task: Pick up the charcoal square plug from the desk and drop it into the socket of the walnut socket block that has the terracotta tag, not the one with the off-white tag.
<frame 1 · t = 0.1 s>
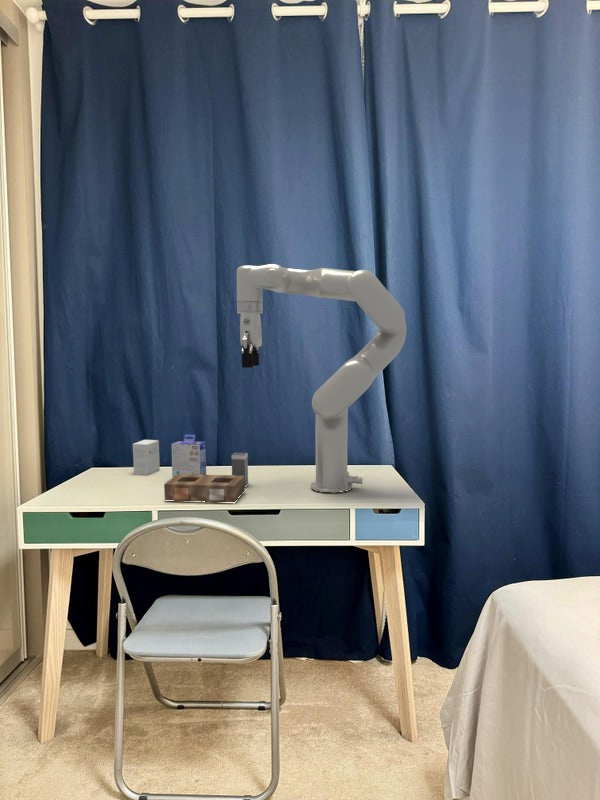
hand: (250, 366, 179), 37 cm above the table, tool pointing down, fingers open, 9 cm apart
small box: (147, 472, 204), on the table
plug: (240, 486, 184), on the table
ink cartridge box: (189, 480, 192), on the table
socket block: (205, 496, 172), on the table
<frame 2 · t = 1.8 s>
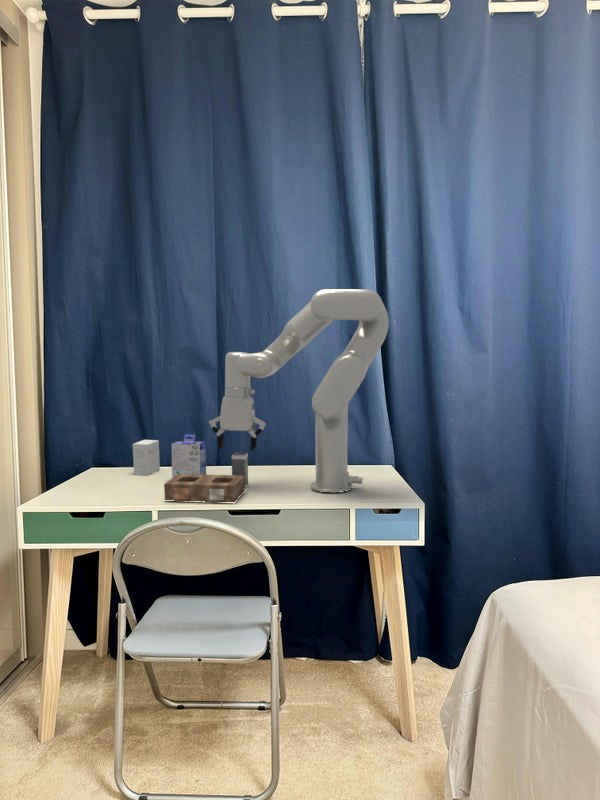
hand: (237, 449, 183), 11 cm above the table, tool pointing down, fingers open, 9 cm apart
nothing on the table moved.
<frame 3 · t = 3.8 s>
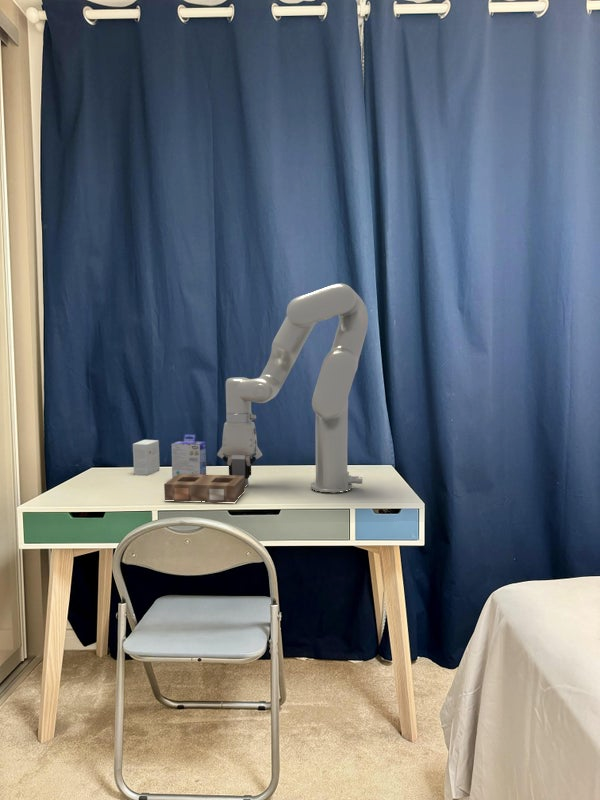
hand: (240, 477, 184), 3 cm above the table, tool pointing down, fingers closed on plug, 4 cm apart
plug: (240, 486, 184), on the table, touching gripper
everything else where it was.
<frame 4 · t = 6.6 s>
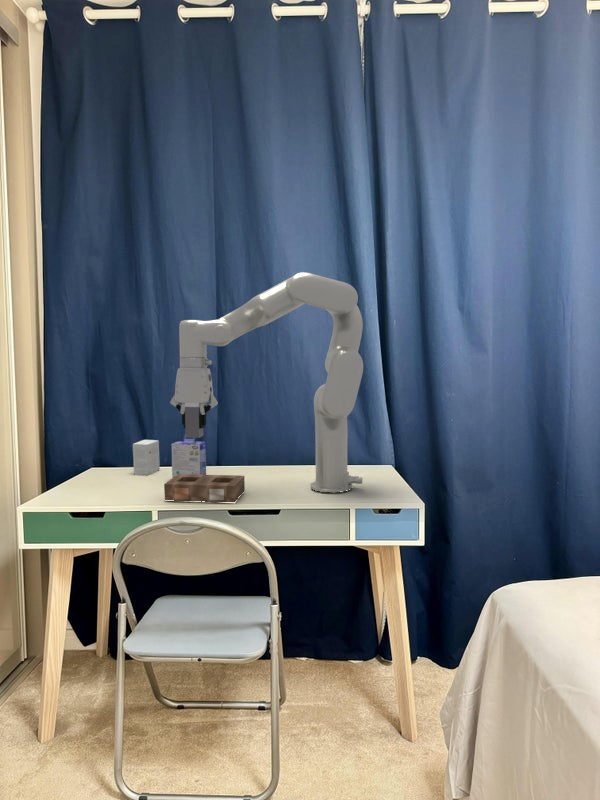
hand: (194, 427, 172), 20 cm above the table, tool pointing down, fingers closed on plug, 4 cm apart
plug: (194, 436, 173), point 17 cm above the table, touching gripper
everything else where it was.
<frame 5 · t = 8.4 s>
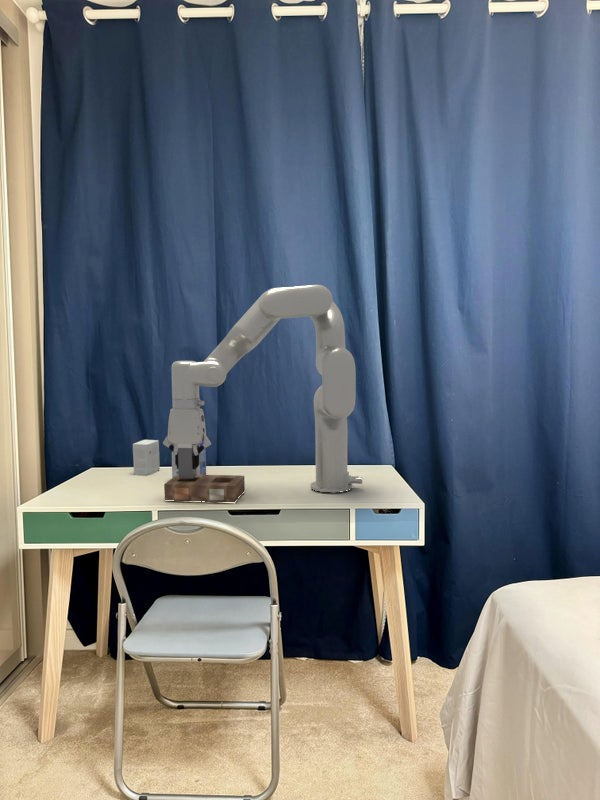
hand: (187, 467, 172), 8 cm above the table, tool pointing down, fingers closed on plug, 4 cm apart
plug: (187, 476, 172), point 6 cm above the table, touching gripper
everything else where it was.
when the fingers open (6 cm above the table, at t = 9.6 s): plug drops 3 cm, resting in socket block.
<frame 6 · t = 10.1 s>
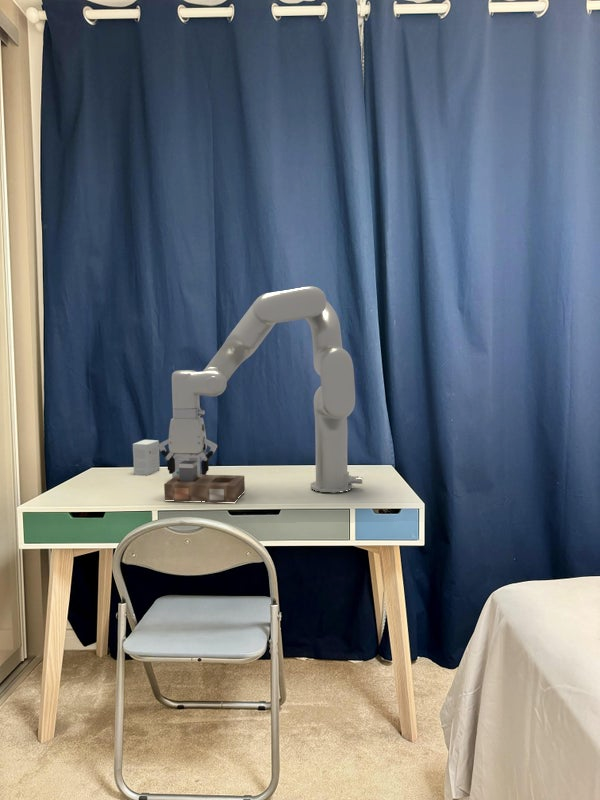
hand: (188, 473, 172), 7 cm above the table, tool pointing down, fingers open, 9 cm apart
plug: (189, 496, 173), resting in socket block
everything else where it was.
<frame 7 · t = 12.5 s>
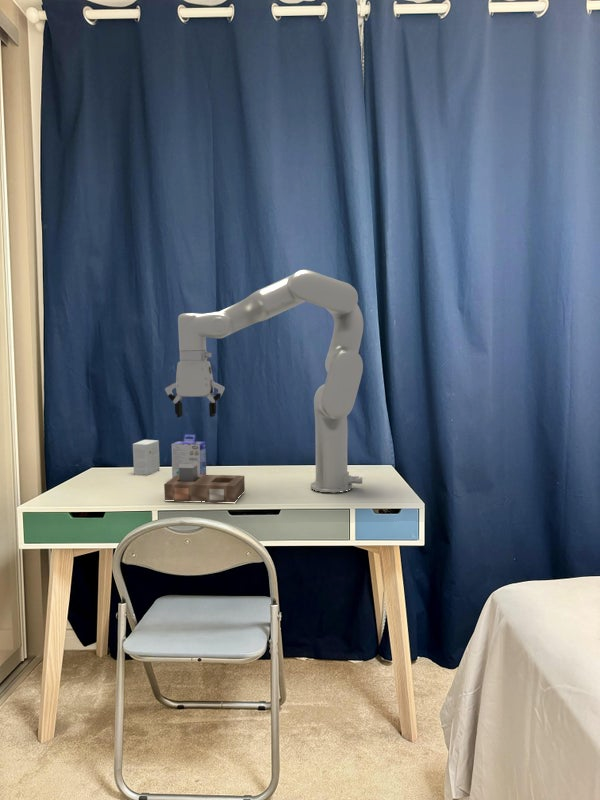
hand: (196, 416, 173), 23 cm above the table, tool pointing down, fingers open, 9 cm apart
nothing on the table moved.
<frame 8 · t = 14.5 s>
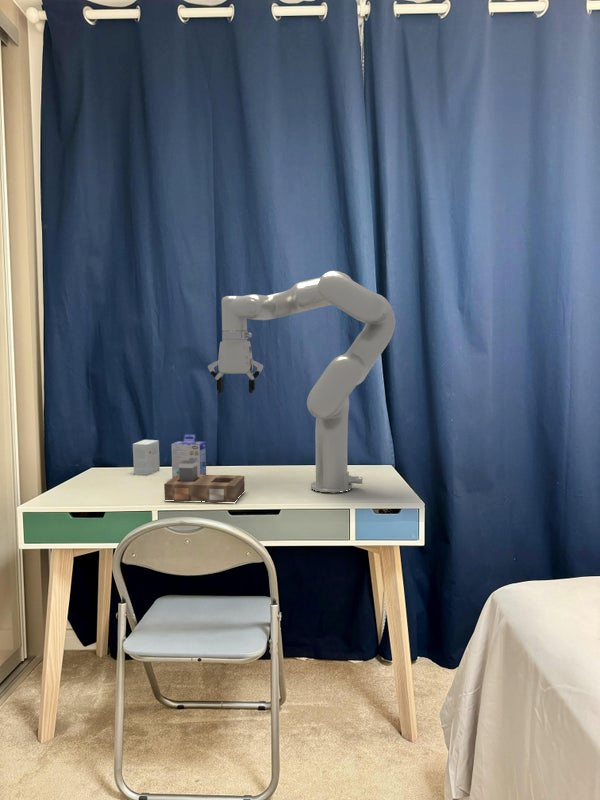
hand: (235, 392, 186), 28 cm above the table, tool pointing down, fingers open, 9 cm apart
nothing on the table moved.
at the end: plug 0.1 cm from the target spot on the socket block, point 0.0 cm above the socket block's base; plug tilted 0°; the gripper is holding nothing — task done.
